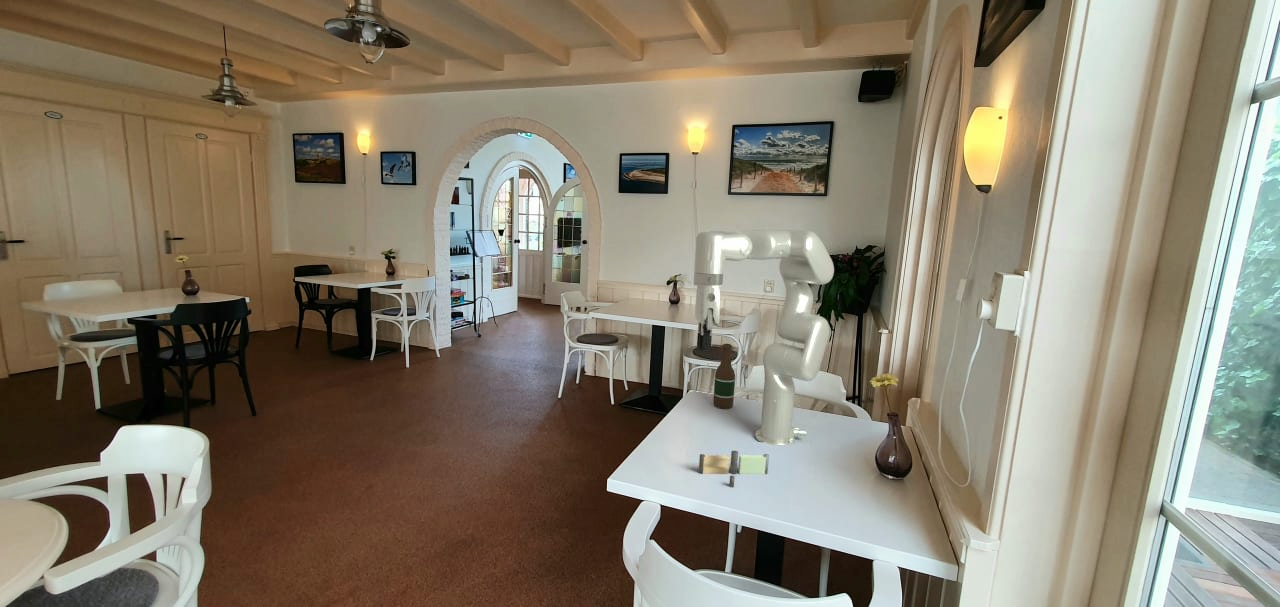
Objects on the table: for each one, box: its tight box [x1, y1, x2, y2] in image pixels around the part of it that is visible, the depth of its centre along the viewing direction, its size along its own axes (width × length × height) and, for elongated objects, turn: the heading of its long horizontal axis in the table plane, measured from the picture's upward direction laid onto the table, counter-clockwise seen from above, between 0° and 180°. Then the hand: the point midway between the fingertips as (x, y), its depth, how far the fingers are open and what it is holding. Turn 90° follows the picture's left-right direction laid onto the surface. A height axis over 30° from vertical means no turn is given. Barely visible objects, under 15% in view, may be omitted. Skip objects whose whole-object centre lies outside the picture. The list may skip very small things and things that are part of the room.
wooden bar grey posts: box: [698, 450, 739, 488], centre depth 135 cm, size 10×9×6 cm
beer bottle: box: [712, 343, 736, 410], centre depth 192 cm, size 8×8×24 cm
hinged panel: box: [737, 453, 770, 475], centre depth 139 cm, size 8×2×5 cm, turn 94°
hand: (703, 348), depth 135 cm, fingers closed
